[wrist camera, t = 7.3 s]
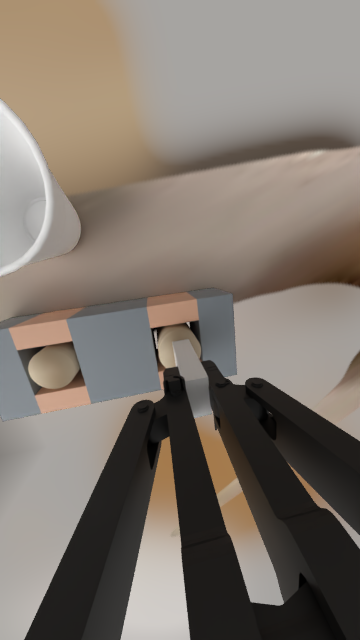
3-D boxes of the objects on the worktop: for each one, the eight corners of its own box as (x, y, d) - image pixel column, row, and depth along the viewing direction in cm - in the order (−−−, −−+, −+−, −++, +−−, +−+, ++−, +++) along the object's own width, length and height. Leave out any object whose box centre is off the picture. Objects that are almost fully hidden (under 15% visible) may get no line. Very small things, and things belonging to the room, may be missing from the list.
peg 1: (63, 363, 24) (36, 392, 19) (53, 333, 23) (21, 354, 18) (96, 357, 25) (79, 384, 19) (88, 327, 24) (68, 346, 18)
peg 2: (159, 350, 24) (162, 375, 19) (154, 319, 23) (155, 336, 18) (190, 344, 25) (202, 367, 19) (187, 314, 24) (198, 329, 18)
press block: (36, 386, 25) (2, 421, 19) (10, 317, 22) (-38, 335, 17) (218, 352, 27) (236, 374, 22) (213, 287, 25) (232, 293, 19)
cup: (119, 223, 22) (90, 181, 11) (65, 292, 23) (-9, 313, 12) (34, 145, 19) (-112, -7, 8) (-24, 227, 20) (-219, 183, 9)
